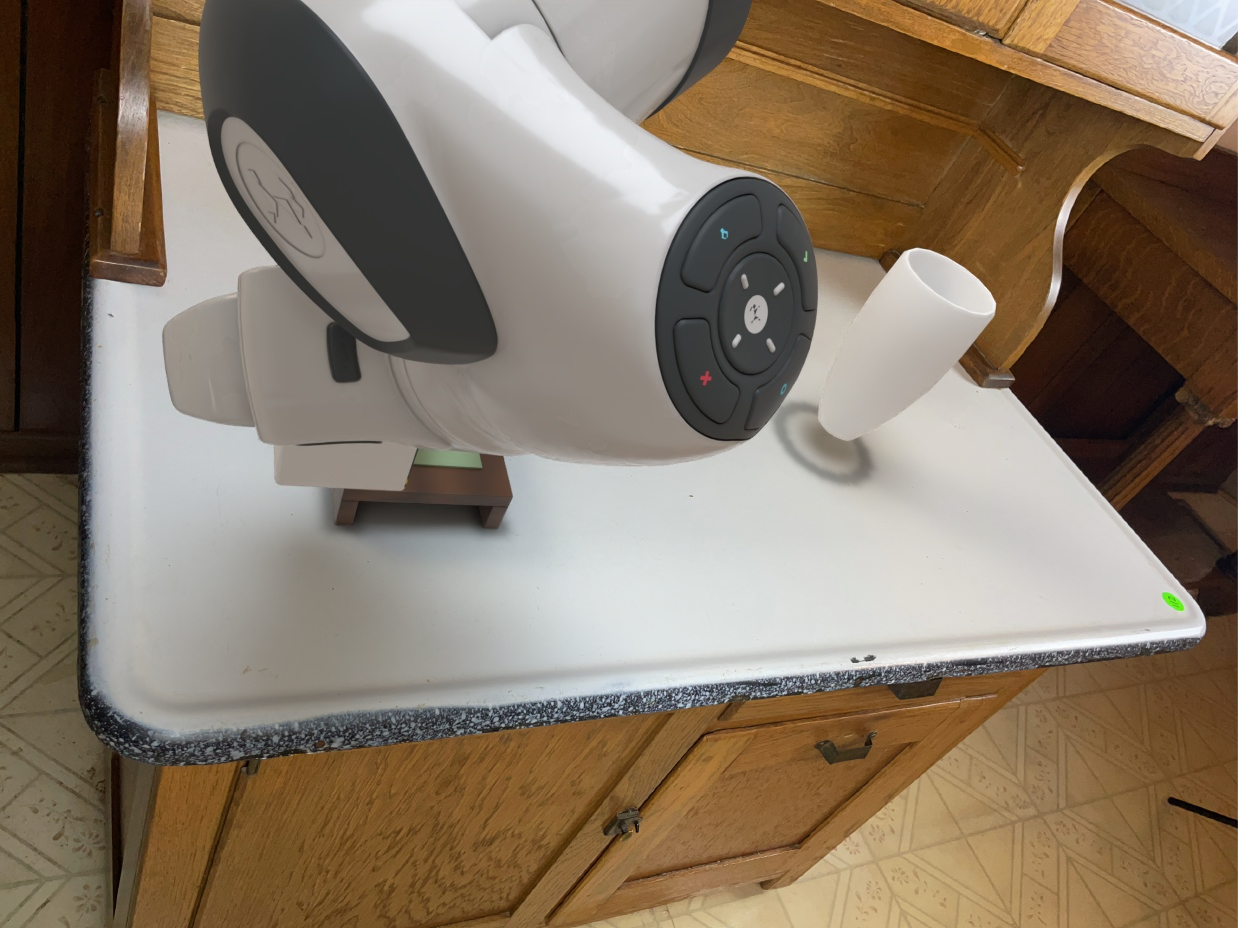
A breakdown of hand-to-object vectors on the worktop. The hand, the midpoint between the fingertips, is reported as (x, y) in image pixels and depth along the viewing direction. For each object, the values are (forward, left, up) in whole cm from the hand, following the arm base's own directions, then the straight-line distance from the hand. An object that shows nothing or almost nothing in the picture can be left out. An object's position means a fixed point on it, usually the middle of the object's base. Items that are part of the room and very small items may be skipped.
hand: (353, 358), depth 46 cm
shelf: (+8, +10, -18) cm, 22 cm away
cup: (+52, +15, -18) cm, 57 cm away
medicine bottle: (0, 0, -7) cm, 7 cm away
